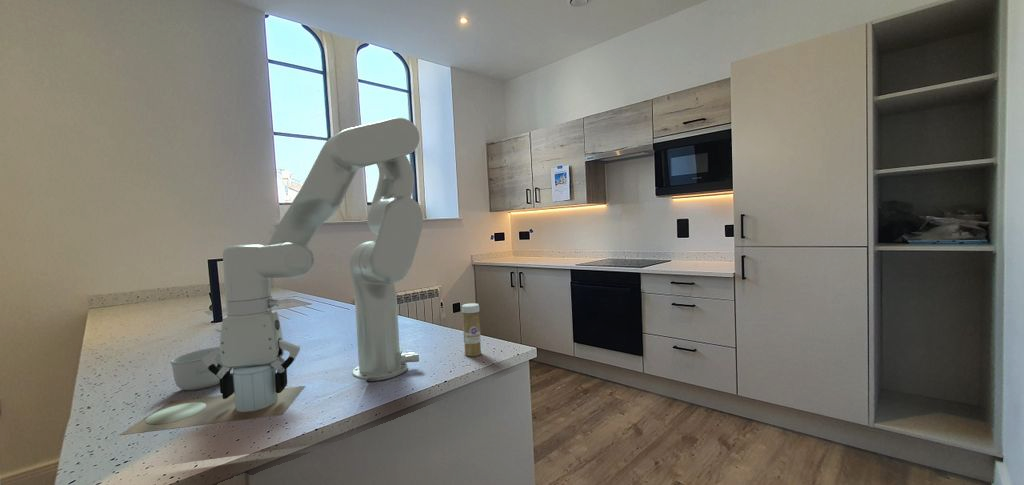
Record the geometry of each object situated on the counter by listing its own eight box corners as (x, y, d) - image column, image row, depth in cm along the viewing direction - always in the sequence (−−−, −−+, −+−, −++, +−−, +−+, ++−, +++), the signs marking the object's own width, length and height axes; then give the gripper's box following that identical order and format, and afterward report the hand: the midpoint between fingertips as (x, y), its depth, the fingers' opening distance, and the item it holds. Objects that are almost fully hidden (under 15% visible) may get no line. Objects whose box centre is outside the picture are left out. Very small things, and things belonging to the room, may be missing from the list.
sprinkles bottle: (469, 358, 104) (467, 306, 104) (461, 354, 108) (458, 304, 108) (484, 354, 107) (482, 304, 107) (476, 350, 111) (473, 302, 110)
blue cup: (282, 394, 84) (279, 357, 84) (269, 408, 78) (266, 368, 77) (245, 398, 83) (242, 361, 83) (228, 413, 76) (225, 373, 76)
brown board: (305, 389, 89) (304, 375, 88) (282, 418, 75) (281, 401, 75) (170, 405, 84) (169, 389, 83) (119, 439, 70) (117, 421, 70)
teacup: (200, 397, 87) (197, 361, 86) (160, 395, 89) (157, 360, 89) (254, 373, 100) (251, 342, 100) (218, 372, 103) (215, 341, 102)
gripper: (303, 300, 85) (307, 381, 85) (210, 307, 81) (216, 391, 82) (290, 307, 77) (296, 395, 78) (188, 314, 74) (194, 406, 75)
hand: (255, 393), depth 80 cm, fingers open, 9 cm apart
